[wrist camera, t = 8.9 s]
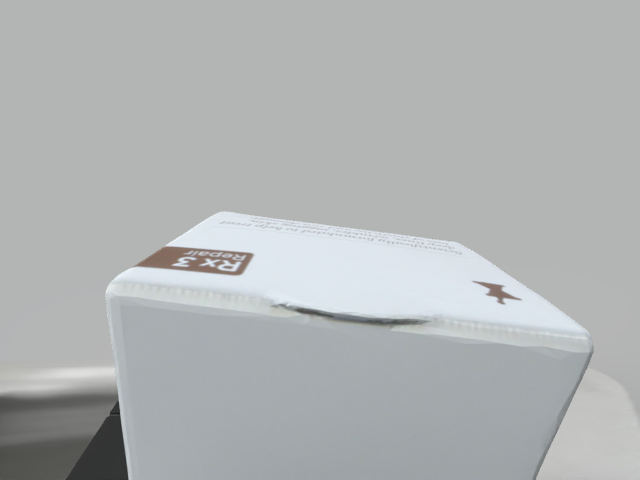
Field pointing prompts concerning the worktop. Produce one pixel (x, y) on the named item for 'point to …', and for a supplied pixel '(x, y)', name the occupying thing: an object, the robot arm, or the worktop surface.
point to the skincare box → (335, 358)
